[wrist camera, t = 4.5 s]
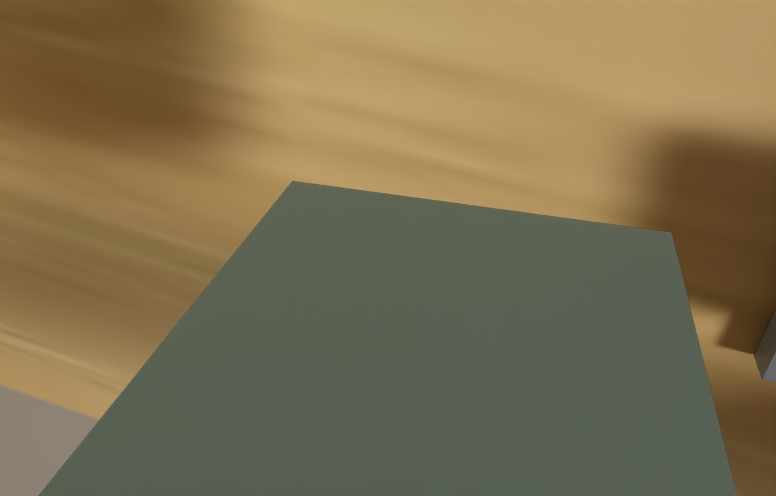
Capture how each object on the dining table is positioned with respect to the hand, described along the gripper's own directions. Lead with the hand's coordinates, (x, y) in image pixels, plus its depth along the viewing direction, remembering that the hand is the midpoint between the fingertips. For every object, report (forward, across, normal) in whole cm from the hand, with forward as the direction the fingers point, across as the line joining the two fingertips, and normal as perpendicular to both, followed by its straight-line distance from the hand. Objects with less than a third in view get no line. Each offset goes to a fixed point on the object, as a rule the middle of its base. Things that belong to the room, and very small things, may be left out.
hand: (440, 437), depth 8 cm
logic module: (+1, 0, 0) cm, 1 cm away
